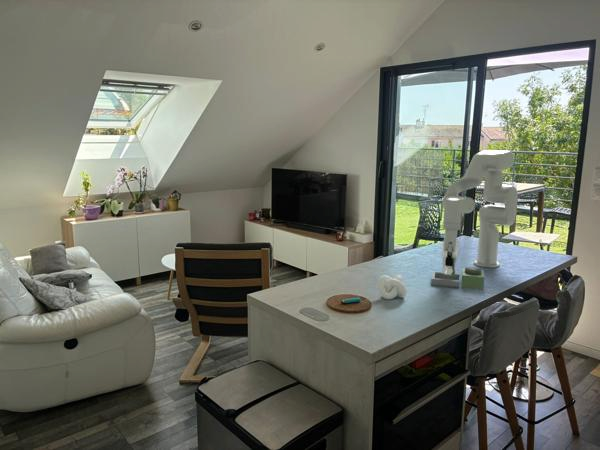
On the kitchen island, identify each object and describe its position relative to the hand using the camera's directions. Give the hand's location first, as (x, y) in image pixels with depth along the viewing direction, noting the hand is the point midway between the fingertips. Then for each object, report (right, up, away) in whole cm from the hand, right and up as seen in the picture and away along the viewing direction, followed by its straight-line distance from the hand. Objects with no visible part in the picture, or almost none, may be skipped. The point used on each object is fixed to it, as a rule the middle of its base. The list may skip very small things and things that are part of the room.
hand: (449, 263), depth 214 cm
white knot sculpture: (-29, -13, -17) cm, 36 cm away
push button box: (+4, -9, +1) cm, 10 cm away
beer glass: (0, -5, +1) cm, 5 cm away
